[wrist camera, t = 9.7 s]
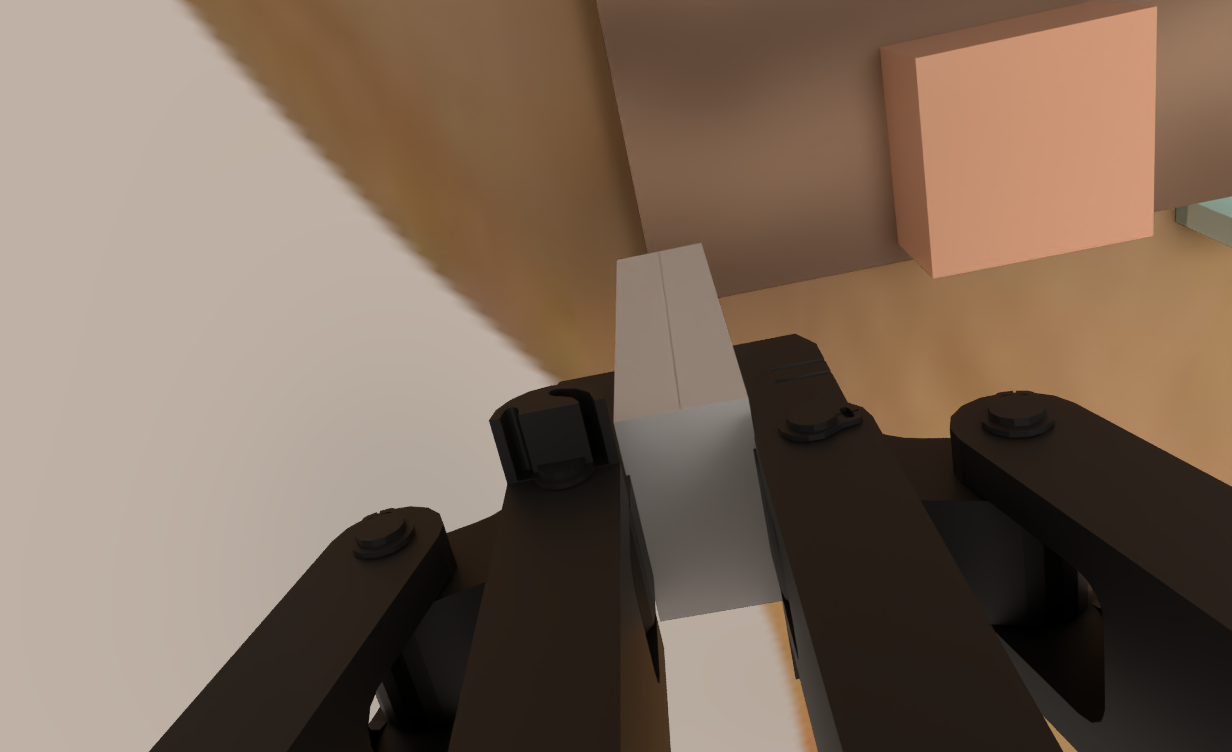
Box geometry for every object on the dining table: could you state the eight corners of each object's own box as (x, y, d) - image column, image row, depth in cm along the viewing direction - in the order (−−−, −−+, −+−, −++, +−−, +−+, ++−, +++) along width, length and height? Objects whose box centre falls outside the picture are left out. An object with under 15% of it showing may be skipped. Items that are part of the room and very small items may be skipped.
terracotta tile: (879, 47, 23) (915, 58, 20) (1090, 1, 22) (1156, 6, 20) (898, 243, 25) (933, 278, 22) (1092, 205, 24) (1153, 235, 21)
